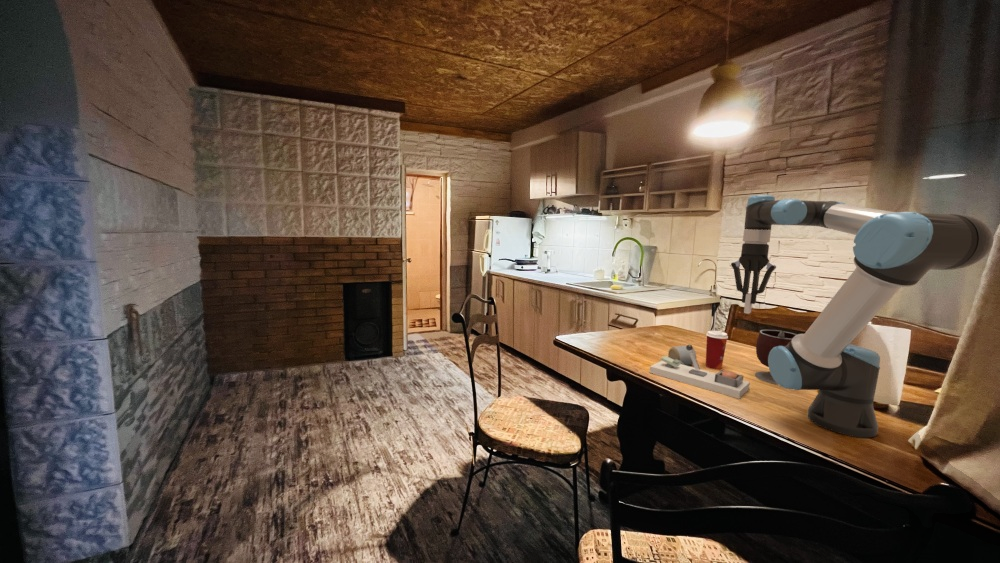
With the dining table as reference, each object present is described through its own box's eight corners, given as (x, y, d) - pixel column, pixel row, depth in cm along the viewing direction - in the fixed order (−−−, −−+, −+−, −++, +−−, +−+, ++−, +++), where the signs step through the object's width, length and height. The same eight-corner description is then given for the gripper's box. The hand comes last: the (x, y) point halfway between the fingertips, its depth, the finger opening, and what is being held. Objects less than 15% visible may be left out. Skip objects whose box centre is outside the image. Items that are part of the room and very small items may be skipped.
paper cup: (727, 371, 155) (731, 336, 153) (706, 369, 156) (710, 334, 154) (720, 364, 162) (723, 330, 160) (699, 362, 163) (703, 329, 161)
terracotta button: (737, 380, 136) (738, 373, 136) (734, 383, 133) (734, 376, 133) (723, 376, 139) (724, 369, 139) (719, 379, 136) (720, 372, 136)
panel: (749, 389, 137) (750, 375, 137) (739, 398, 129) (740, 383, 128) (662, 365, 158) (664, 353, 158) (649, 372, 150) (650, 359, 149)
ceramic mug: (666, 361, 164) (667, 343, 162) (683, 360, 165) (685, 342, 164) (682, 371, 153) (684, 352, 152) (701, 370, 155) (703, 351, 154)
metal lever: (702, 368, 143) (692, 343, 145) (700, 369, 141) (690, 344, 143) (696, 369, 145) (686, 344, 146) (694, 371, 143) (684, 346, 145)
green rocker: (679, 365, 149) (681, 361, 149) (676, 367, 147) (677, 363, 146) (664, 358, 153) (665, 354, 153) (660, 359, 151) (661, 355, 150)
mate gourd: (752, 369, 157) (758, 320, 155) (796, 377, 150) (803, 325, 147) (752, 381, 144) (759, 327, 142) (799, 391, 137) (808, 334, 134)
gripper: (781, 244, 130) (772, 314, 133) (737, 242, 139) (729, 308, 142) (776, 244, 125) (767, 317, 128) (730, 242, 134) (722, 310, 137)
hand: (747, 312), depth 135 cm, fingers closed
